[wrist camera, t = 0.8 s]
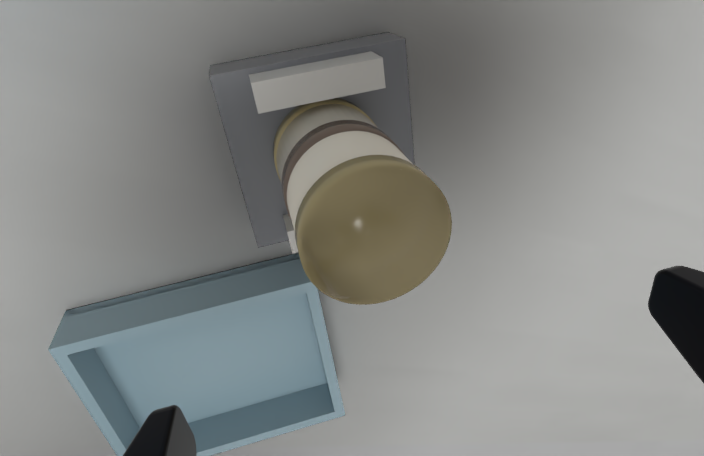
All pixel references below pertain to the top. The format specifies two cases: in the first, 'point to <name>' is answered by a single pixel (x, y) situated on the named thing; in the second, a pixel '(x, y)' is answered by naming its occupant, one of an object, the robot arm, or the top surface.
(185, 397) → the tray
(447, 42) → the top surface
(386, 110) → the fuse block
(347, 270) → the fuse
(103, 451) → the top surface
